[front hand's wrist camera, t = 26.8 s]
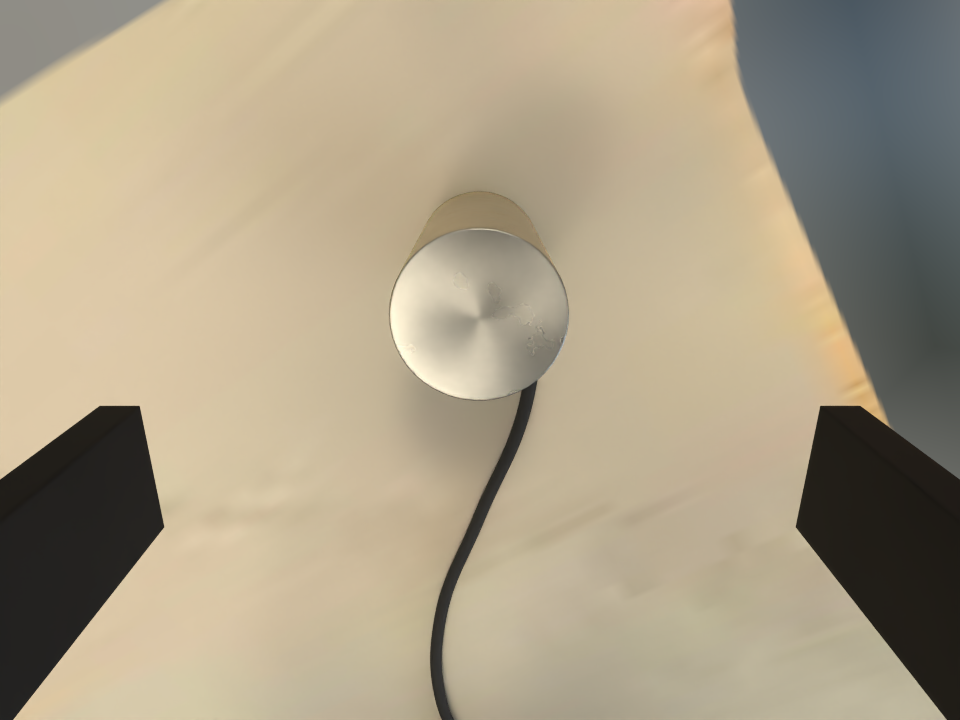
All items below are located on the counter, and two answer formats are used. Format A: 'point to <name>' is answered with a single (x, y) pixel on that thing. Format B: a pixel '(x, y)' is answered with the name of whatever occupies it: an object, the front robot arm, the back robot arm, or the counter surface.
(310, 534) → the counter surface
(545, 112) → the counter surface
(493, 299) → the tin
